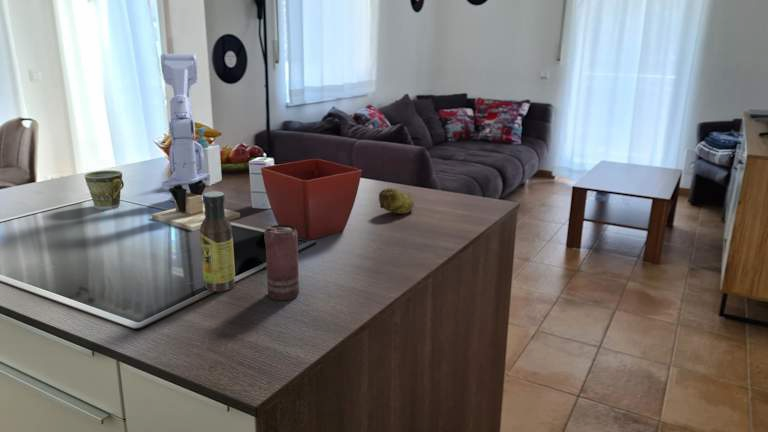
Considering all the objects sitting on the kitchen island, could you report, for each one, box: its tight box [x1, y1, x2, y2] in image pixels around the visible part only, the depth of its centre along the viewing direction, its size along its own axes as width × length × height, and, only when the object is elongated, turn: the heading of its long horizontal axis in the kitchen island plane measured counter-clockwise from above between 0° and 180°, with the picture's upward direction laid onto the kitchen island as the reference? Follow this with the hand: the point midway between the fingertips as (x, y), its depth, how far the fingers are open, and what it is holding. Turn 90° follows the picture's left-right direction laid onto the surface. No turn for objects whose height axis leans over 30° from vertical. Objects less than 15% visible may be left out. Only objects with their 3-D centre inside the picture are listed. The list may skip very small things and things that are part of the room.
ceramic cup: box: [84, 169, 125, 211], centre depth 172 cm, size 13×10×10 cm
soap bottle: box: [195, 126, 223, 187], centre depth 201 cm, size 9×9×19 cm
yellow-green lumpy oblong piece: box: [378, 187, 415, 215], centre depth 171 cm, size 8×13×8 cm, turn 120°
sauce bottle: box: [199, 191, 236, 293], centre depth 117 cm, size 6×6×20 cm
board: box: [151, 202, 241, 232], centre depth 164 cm, size 18×16×1 cm
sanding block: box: [174, 192, 203, 216], centre depth 165 cm, size 7×4×5 cm, turn 54°
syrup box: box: [248, 156, 275, 210], centre depth 175 cm, size 6×6×14 cm
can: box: [264, 224, 300, 302], centre depth 114 cm, size 6×6×14 cm
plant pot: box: [261, 158, 362, 241], centre depth 153 cm, size 19×19×17 cm
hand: (189, 209), depth 166 cm, fingers closed on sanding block, 4 cm apart
